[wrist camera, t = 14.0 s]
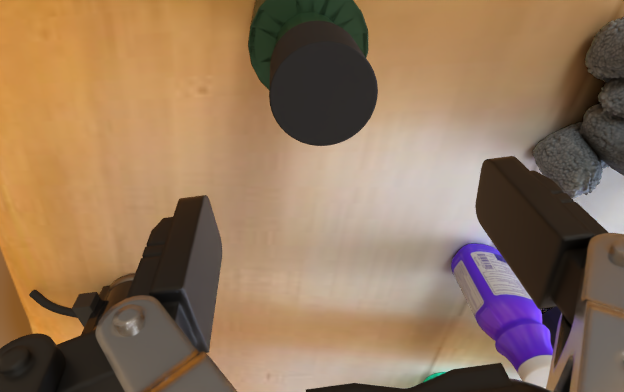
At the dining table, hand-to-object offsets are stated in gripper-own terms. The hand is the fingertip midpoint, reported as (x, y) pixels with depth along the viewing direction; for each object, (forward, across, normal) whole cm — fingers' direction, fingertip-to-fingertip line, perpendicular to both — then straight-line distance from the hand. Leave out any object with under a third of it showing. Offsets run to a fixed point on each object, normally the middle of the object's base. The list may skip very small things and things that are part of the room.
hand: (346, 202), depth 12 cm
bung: (+14, 0, 0) cm, 14 cm away
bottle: (+29, -20, +33) cm, 48 cm away
